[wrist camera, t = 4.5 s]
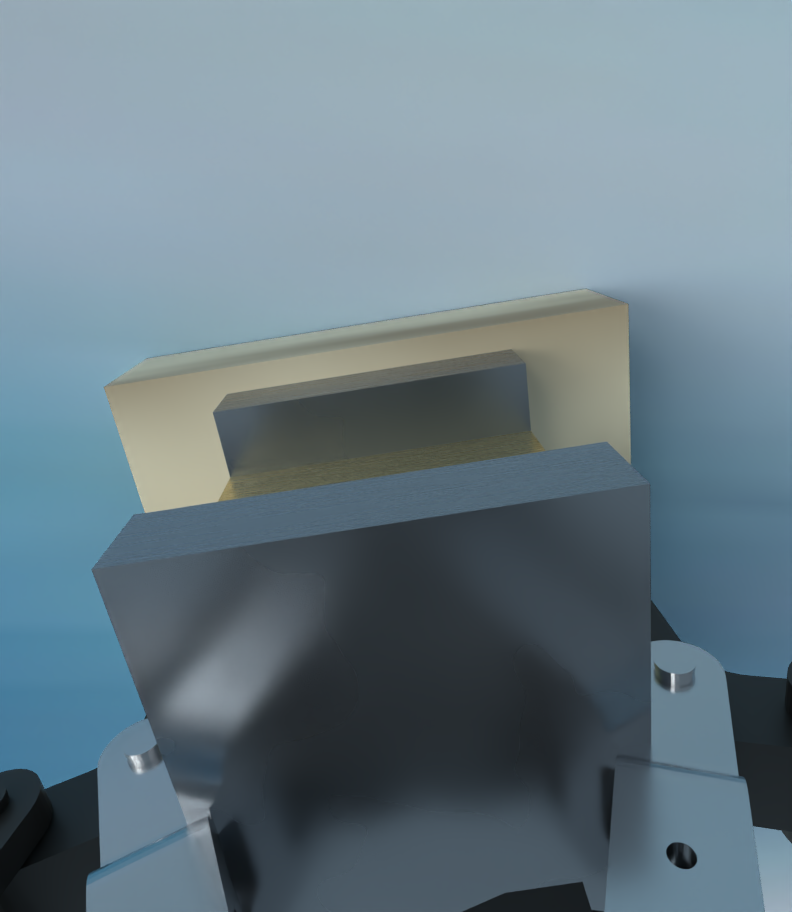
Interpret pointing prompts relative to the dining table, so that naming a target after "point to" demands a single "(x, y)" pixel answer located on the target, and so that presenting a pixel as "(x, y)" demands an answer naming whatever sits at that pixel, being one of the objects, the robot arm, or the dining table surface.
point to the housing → (395, 641)
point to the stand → (368, 349)
